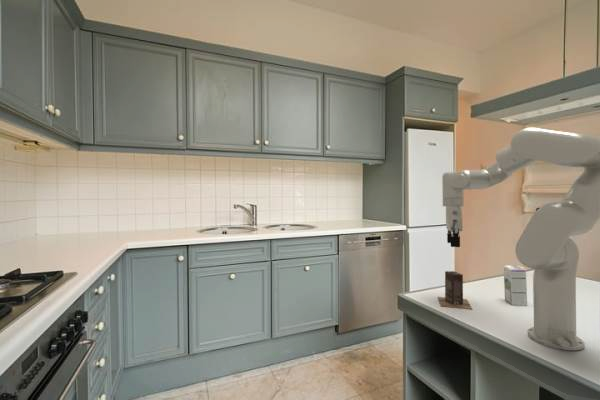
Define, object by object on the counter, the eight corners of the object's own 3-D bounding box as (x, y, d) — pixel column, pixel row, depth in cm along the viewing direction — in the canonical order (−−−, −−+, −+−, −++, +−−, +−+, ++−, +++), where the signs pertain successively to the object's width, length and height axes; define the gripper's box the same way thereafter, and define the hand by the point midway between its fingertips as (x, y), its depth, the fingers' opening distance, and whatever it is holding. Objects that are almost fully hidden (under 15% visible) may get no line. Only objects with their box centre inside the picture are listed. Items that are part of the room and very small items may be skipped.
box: (463, 304, 114) (463, 274, 114) (452, 305, 114) (452, 274, 114) (455, 299, 120) (454, 270, 120) (444, 300, 120) (444, 271, 120)
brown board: (472, 309, 110) (472, 308, 110) (440, 306, 114) (440, 305, 114) (466, 299, 121) (466, 299, 121) (437, 297, 124) (437, 296, 124)
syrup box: (528, 305, 113) (527, 268, 113) (510, 305, 114) (510, 268, 114) (520, 300, 118) (519, 265, 118) (503, 300, 119) (503, 264, 119)
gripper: (467, 203, 108) (468, 249, 108) (459, 202, 124) (460, 241, 124) (445, 203, 110) (445, 248, 110) (440, 202, 126) (440, 241, 127)
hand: (453, 244), depth 117 cm, fingers open, 9 cm apart
